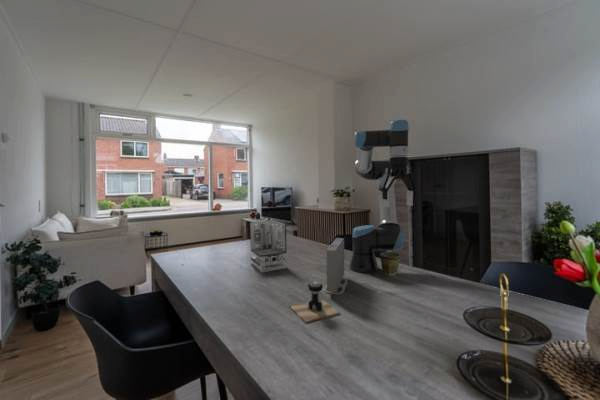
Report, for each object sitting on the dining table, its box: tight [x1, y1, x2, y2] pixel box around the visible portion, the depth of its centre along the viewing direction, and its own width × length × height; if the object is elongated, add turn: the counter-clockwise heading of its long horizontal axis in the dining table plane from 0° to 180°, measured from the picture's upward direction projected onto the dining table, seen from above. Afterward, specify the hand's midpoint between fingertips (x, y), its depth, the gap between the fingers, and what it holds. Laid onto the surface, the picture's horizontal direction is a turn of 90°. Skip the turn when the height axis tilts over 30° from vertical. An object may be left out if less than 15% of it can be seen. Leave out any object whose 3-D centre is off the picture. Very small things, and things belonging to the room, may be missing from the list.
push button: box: [306, 280, 323, 311], centre depth 103 cm, size 7×5×10 cm
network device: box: [323, 237, 348, 295], centre depth 126 cm, size 26×9×20 cm, turn 163°
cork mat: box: [288, 297, 341, 324], centre depth 103 cm, size 14×14×1 cm
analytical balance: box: [249, 220, 288, 273], centre depth 156 cm, size 16×19×25 cm
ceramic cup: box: [379, 251, 401, 277], centre depth 144 cm, size 13×10×10 cm
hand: (398, 206), depth 120 cm, fingers open, 13 cm apart
